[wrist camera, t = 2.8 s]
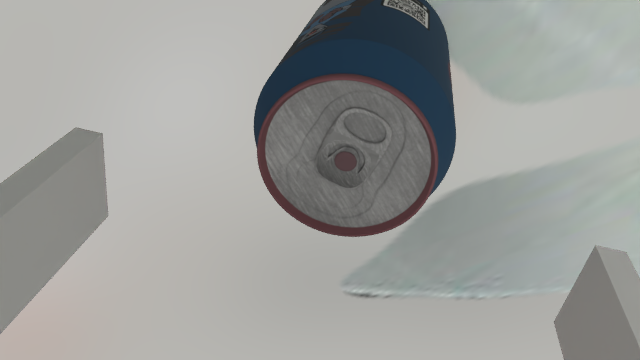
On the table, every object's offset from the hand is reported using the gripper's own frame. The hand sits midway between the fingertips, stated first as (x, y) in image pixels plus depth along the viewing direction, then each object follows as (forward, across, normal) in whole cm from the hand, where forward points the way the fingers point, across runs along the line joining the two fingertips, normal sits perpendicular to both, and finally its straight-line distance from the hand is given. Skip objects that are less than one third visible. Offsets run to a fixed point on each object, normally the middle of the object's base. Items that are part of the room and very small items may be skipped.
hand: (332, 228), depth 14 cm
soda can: (+15, 0, 0) cm, 15 cm away
